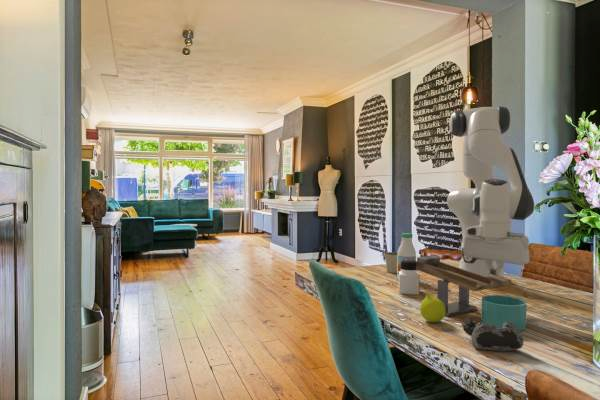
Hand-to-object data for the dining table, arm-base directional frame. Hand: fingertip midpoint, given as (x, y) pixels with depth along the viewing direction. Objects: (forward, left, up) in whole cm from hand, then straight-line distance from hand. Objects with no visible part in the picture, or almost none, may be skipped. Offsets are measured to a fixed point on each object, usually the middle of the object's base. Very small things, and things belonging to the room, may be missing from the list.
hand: (494, 274), depth 129 cm
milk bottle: (-10, -45, -12) cm, 48 cm away
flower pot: (-19, -61, -12) cm, 65 cm away
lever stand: (+10, -7, -12) cm, 17 cm away
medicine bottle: (+4, -31, -12) cm, 34 cm away
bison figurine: (+28, +17, -12) cm, 34 cm away
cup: (+10, +9, -12) cm, 18 cm away
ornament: (+25, -3, -12) cm, 28 cm away
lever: (+5, -8, -2) cm, 10 cm away
